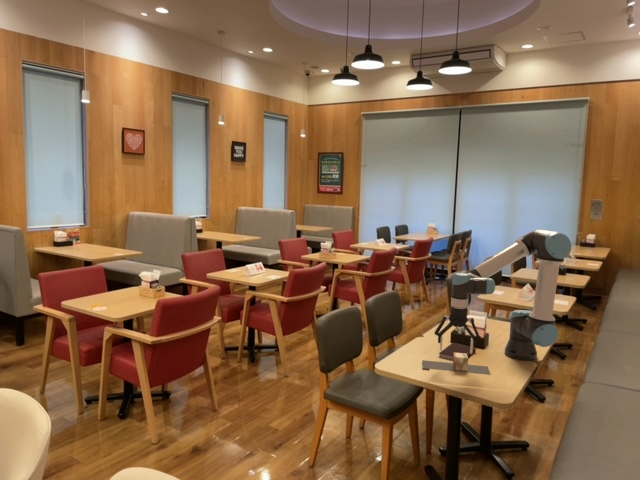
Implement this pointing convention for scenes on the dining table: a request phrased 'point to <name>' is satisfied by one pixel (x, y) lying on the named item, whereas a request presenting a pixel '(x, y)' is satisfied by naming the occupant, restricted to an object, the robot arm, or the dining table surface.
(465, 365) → the block
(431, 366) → the mat
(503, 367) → the dining table surface
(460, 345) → the book
